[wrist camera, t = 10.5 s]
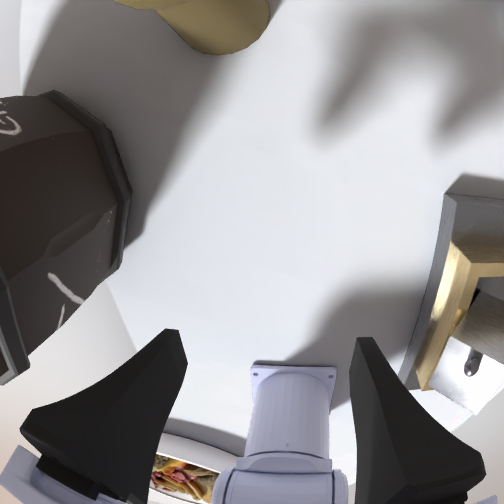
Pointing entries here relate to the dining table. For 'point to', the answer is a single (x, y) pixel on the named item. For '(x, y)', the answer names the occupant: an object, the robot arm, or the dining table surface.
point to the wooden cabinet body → (456, 279)
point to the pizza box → (187, 469)
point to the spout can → (473, 355)
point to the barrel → (54, 218)
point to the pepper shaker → (211, 21)
